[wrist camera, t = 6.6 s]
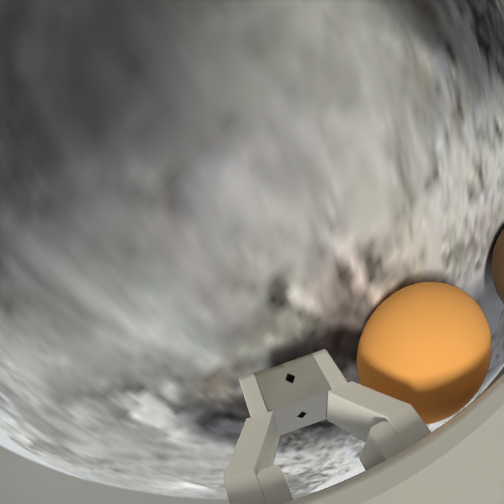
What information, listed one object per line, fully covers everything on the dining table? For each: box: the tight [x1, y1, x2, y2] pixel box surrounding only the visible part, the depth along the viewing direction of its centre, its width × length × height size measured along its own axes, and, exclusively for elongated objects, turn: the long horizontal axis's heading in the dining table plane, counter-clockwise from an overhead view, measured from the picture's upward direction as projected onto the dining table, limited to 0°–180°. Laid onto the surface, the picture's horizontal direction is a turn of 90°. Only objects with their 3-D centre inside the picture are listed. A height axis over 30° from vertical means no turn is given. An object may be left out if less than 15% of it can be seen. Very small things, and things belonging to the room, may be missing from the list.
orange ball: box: [357, 282, 492, 424], centre depth 9 cm, size 6×6×6 cm
